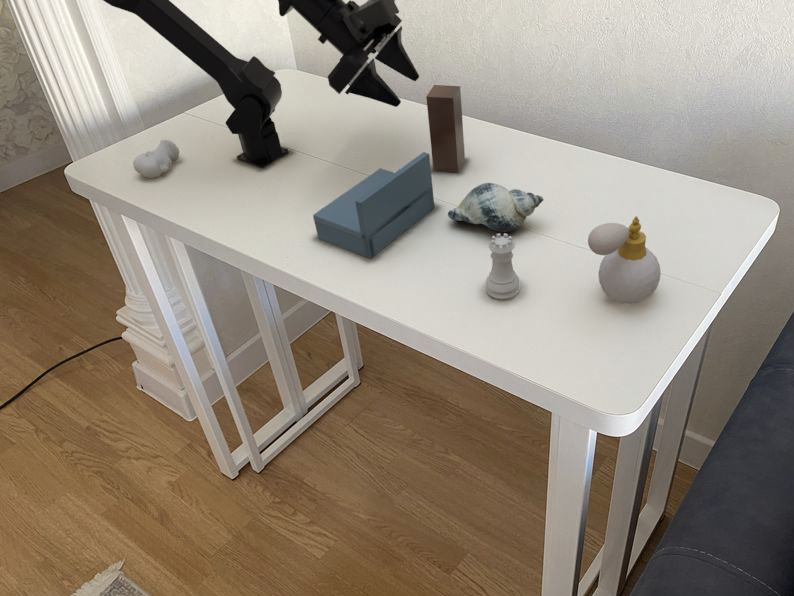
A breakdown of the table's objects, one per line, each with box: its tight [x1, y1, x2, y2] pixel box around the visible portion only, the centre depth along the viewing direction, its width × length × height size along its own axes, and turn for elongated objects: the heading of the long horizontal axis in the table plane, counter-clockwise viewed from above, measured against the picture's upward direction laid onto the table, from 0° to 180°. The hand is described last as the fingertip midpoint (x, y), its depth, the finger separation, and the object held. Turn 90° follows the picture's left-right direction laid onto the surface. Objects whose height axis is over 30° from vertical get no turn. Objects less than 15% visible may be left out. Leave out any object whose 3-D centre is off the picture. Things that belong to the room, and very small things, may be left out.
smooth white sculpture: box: [132, 139, 180, 179], centre depth 121 cm, size 4×8×5 cm
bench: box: [312, 151, 435, 260], centre depth 104 cm, size 10×15×9 cm, turn 145°
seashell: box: [447, 182, 544, 233], centre depth 103 cm, size 6×8×12 cm
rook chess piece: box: [485, 232, 521, 300], centre depth 91 cm, size 4×4×8 cm
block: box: [425, 84, 466, 174], centre depth 114 cm, size 4×4×12 cm
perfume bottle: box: [587, 216, 662, 305], centre depth 87 cm, size 8×10×12 cm
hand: (408, 91), depth 111 cm, fingers open, 9 cm apart
